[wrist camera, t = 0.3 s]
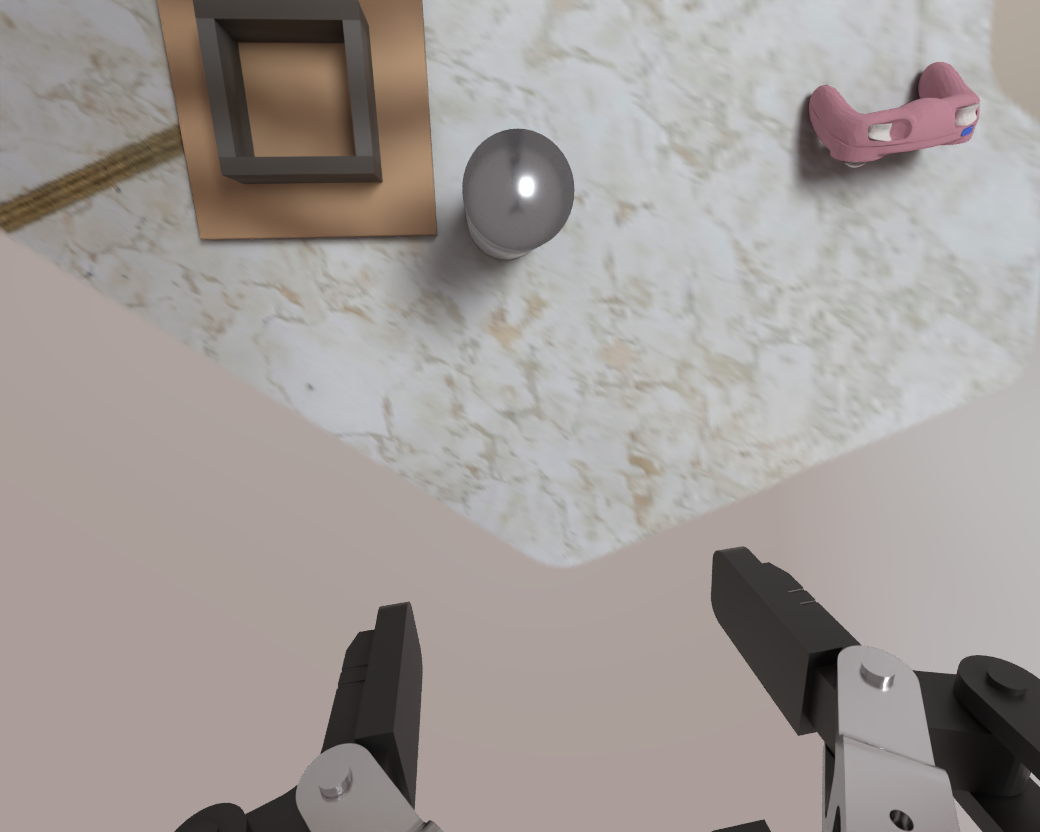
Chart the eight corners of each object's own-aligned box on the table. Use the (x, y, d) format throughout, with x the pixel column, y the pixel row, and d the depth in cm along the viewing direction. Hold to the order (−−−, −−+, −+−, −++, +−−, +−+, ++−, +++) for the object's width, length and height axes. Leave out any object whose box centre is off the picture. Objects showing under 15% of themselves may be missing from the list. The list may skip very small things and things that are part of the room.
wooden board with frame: (159, -34, 31) (114, -78, 27) (420, -29, 32) (412, -71, 28) (207, 239, 35) (175, 234, 31) (437, 235, 36) (432, 229, 33)
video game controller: (791, 154, 39) (850, 182, 33) (805, 84, 35) (873, 103, 30) (913, 128, 39) (991, 153, 34) (939, 57, 36) (1028, 72, 31)
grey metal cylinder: (464, 178, 36) (459, 129, 24) (543, 177, 36) (574, 128, 25) (469, 260, 37) (465, 251, 26) (544, 258, 38) (574, 249, 26)
